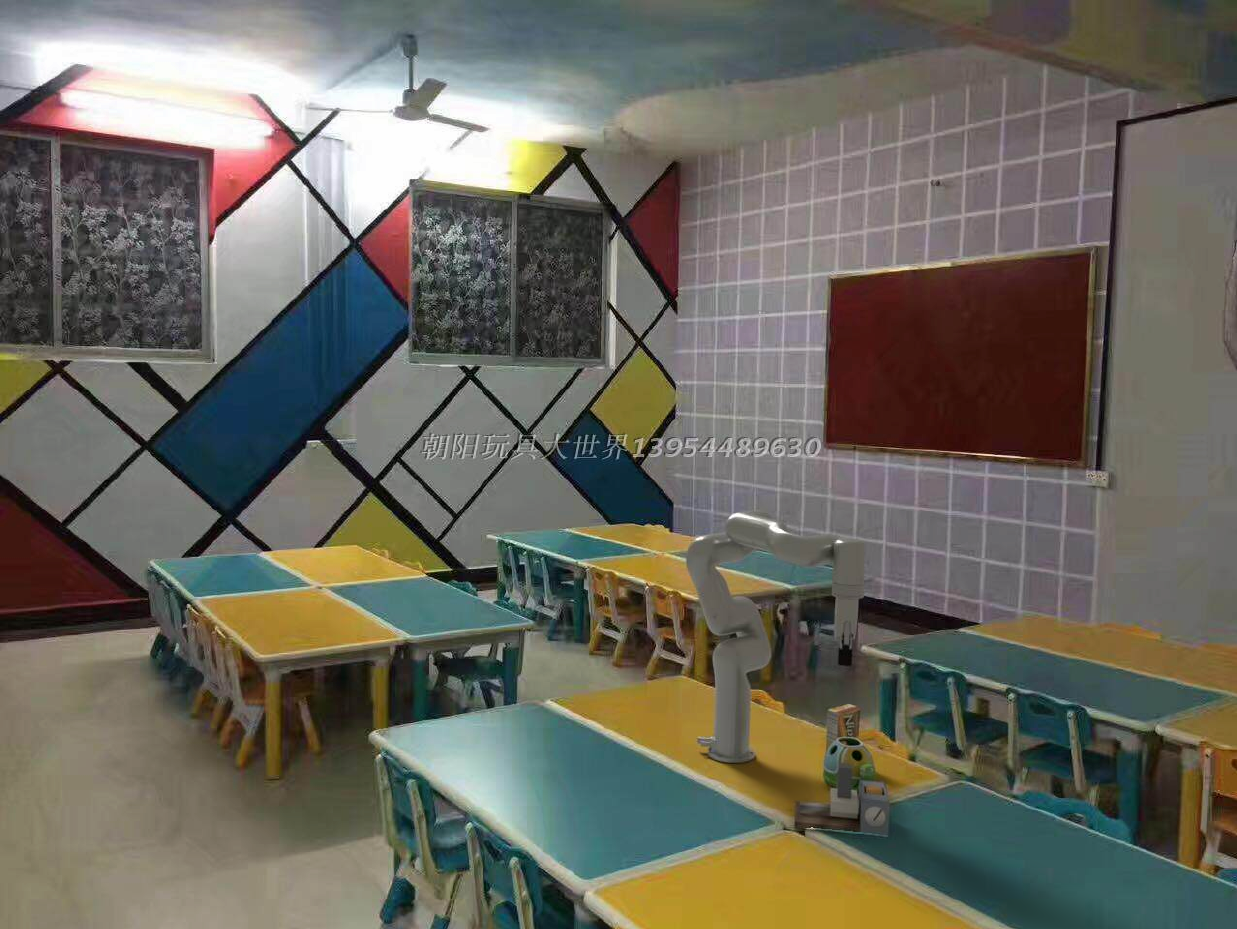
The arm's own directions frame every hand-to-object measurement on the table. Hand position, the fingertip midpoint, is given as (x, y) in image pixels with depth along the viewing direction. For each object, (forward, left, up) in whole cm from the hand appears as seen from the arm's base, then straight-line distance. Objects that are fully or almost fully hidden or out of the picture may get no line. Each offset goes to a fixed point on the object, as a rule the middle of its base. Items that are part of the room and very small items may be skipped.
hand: (844, 664), depth 252 cm
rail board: (-3, -17, -32) cm, 36 cm away
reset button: (+7, -17, -28) cm, 33 cm away
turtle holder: (+3, +3, -32) cm, 33 cm away
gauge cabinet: (+7, -17, -32) cm, 37 cm away
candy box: (+1, +20, -32) cm, 38 cm away
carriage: (0, -17, -30) cm, 34 cm away
